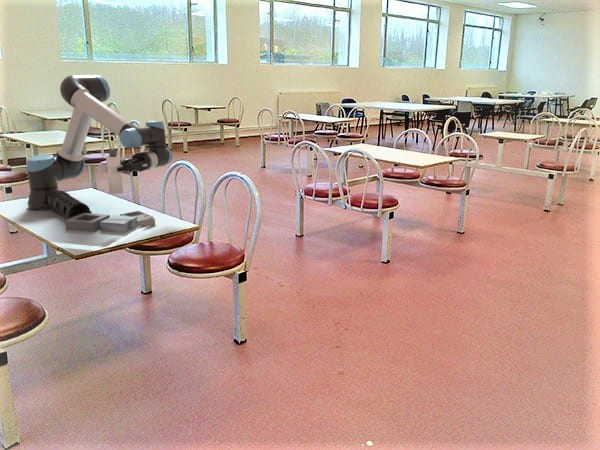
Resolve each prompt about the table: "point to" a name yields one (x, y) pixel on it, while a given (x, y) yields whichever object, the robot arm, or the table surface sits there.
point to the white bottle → (114, 179)
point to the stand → (118, 224)
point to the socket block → (85, 222)
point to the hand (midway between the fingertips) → (104, 170)
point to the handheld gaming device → (141, 218)
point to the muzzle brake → (66, 204)
